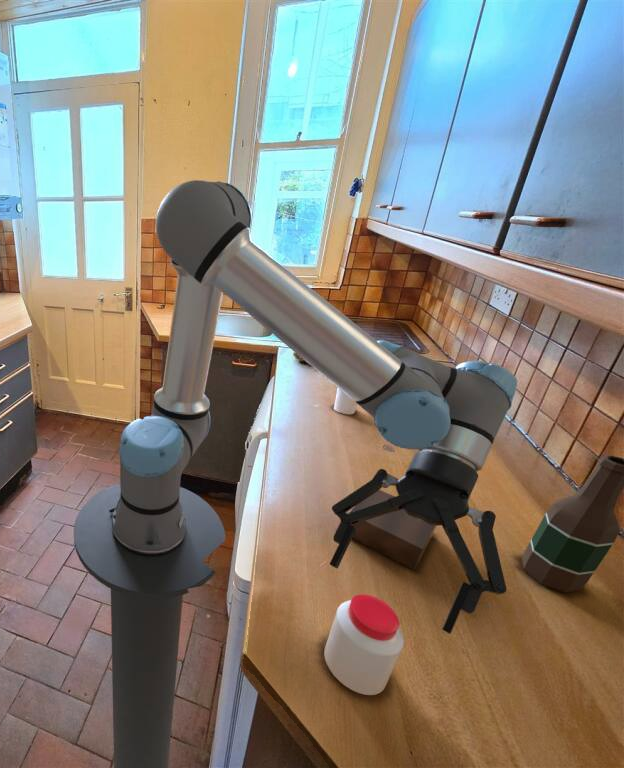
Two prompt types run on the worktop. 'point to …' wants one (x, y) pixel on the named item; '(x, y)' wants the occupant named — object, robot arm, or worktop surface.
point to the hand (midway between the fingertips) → (384, 596)
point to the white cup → (344, 403)
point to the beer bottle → (577, 531)
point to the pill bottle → (364, 644)
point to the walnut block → (393, 532)
